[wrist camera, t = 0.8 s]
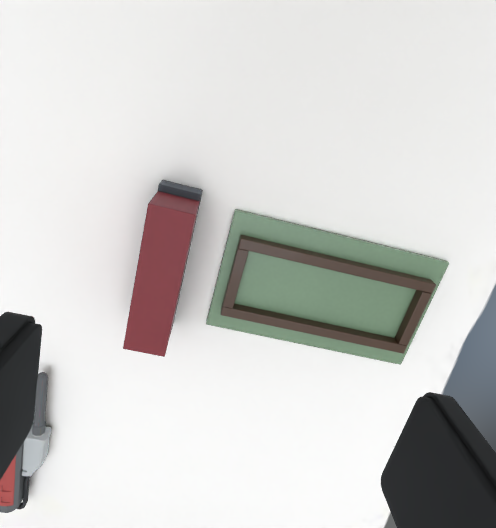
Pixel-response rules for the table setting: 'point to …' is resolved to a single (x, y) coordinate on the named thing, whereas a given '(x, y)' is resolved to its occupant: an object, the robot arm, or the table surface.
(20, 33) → the table surface
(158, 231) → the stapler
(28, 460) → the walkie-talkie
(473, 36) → the table surface
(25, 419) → the robot arm
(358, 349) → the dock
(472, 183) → the table surface
